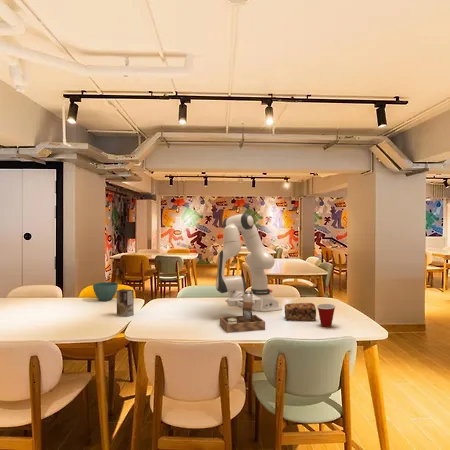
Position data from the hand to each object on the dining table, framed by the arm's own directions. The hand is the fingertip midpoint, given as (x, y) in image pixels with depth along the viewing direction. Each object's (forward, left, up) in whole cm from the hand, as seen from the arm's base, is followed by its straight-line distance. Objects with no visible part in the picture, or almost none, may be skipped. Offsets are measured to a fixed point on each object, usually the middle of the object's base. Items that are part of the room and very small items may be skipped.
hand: (248, 304), depth 218 cm
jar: (+10, +2, -13) cm, 17 cm away
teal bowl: (+81, -98, -13) cm, 128 cm away
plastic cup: (-44, +10, -13) cm, 47 cm away
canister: (0, -1, -8) cm, 8 cm away
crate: (+4, 0, -13) cm, 13 cm away
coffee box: (+68, -46, -13) cm, 83 cm away
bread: (-37, -8, -13) cm, 40 cm away
